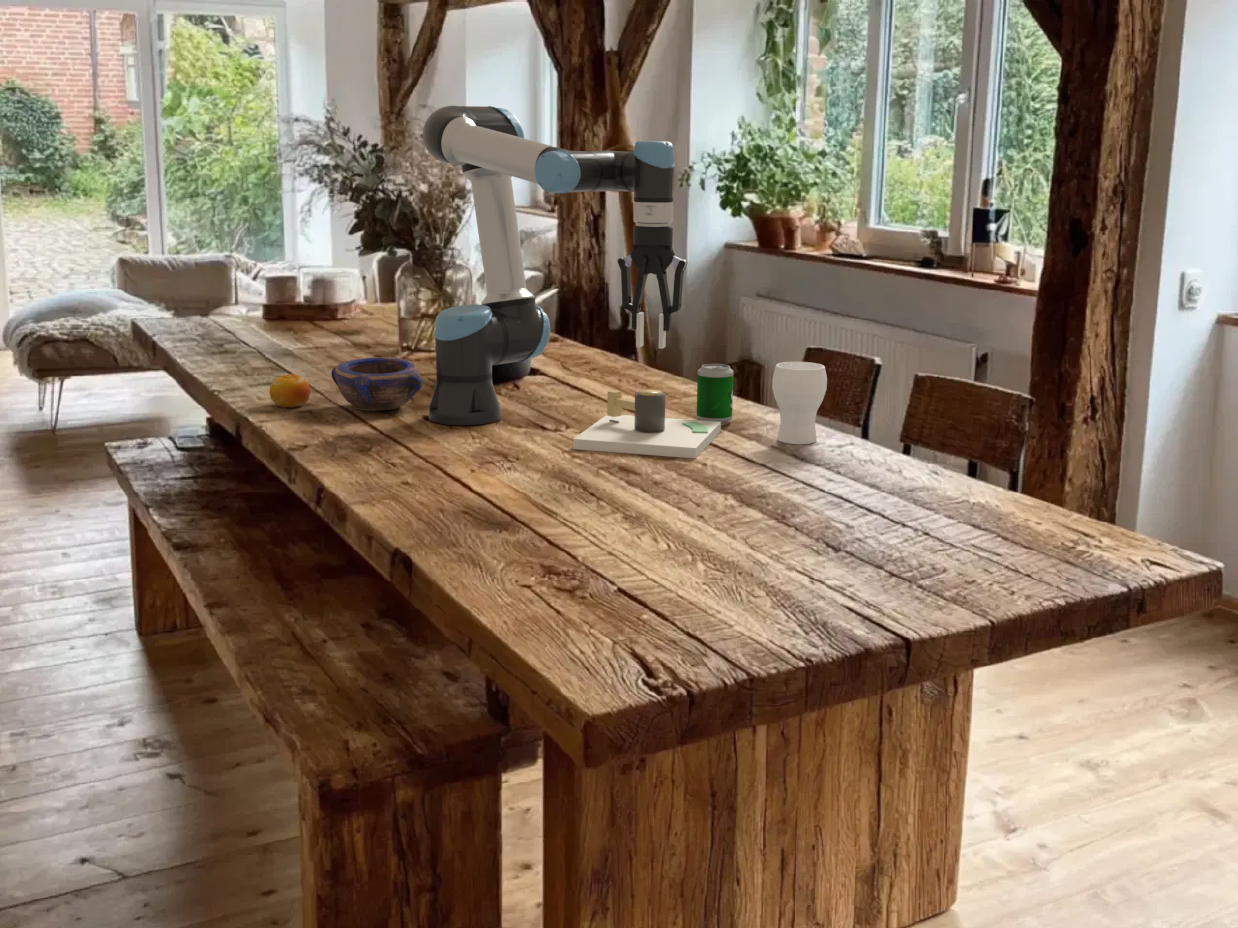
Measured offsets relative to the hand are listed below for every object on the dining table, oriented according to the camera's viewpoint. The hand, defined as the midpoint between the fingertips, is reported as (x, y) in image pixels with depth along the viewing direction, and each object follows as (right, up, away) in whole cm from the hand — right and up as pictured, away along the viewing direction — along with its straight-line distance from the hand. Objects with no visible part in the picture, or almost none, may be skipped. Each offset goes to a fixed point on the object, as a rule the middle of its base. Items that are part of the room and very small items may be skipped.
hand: (650, 346), depth 249 cm
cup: (+29, -18, +6) cm, 35 cm away
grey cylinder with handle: (-3, -15, +7) cm, 17 cm away
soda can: (+14, -14, +21) cm, 29 cm away
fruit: (-78, -10, +33) cm, 85 cm away
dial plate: (0, -18, +5) cm, 19 cm away
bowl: (-59, -11, +31) cm, 68 cm away
